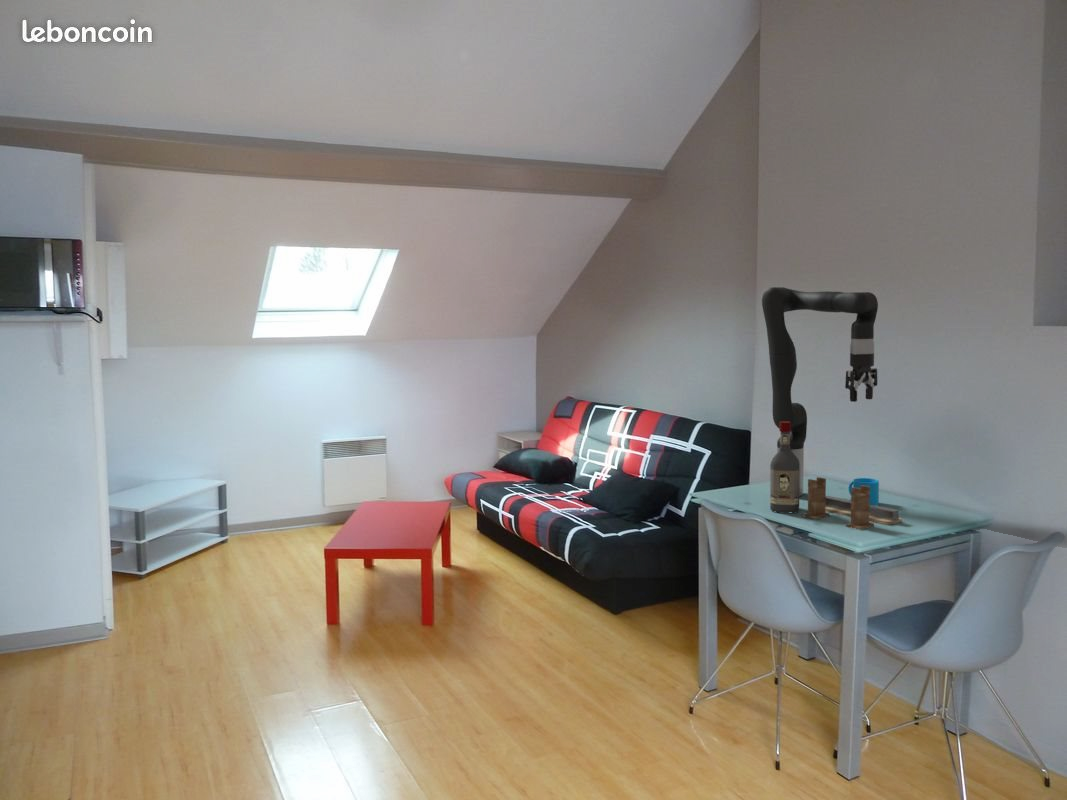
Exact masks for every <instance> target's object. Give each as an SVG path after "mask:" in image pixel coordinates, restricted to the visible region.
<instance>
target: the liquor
mask: <svg viewBox="0 0 1067 800" xmlns="http://www.w3.org/2000/svg"><path fill="white" fill-rule="evenodd" d="M778 429H779V432H780V437H779V438H780V450H779V451H778V453H777V452H776V454H775V455H774V456H773V457H772V459H771V462H770V464H769V465H770V466H769V467H770V469H769V470H770V471H769V472H770V475H769V476H770V479H769V481H770V482H769V485H770V487H769V489H770V490H769V492H770V493H769V496H770V497H769V498H770V499H769V501H770V502H769V505H770V506H769V507H770V511H771V510H772V511H771V512H773V511H776V512H797V513H798V512H799V510H800V496H799V478H800V462H799V459H798V458H797V457H796V456H795V455H794V453H793V452H792V451H791V447H790V431H791V422H789V421H782V422H780V428H778ZM776 512H775V513H776Z"/></svg>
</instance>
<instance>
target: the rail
mask: <svg viewBox="0 0 1067 800" xmlns="http://www.w3.org/2000/svg"><path fill="white" fill-rule="evenodd" d="M825 507H830V508H835V509H839V510H844V511H849V512H851V499H846V498H841V497H837V496H830V495H826V504H825ZM869 516H872V517H876V518H881V519H886V520H890V521H895V520H899V518H900V517H899V516H900V510H899V509H896V508H890V507H886V506H881V505H877V506H876V505H871V504H869Z"/></svg>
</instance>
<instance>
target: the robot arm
mask: <svg viewBox="0 0 1067 800" xmlns="http://www.w3.org/2000/svg"><path fill="white" fill-rule="evenodd" d="M761 307H762V312H763V316H764V322H765V327H766V334H767V344H768V355H769V365H770V374H771V375H770V377H771V386H772V419H773V422H774V426H775V427H777V429H779V428H780V422H782V421H789V422H791V431H790V447H791V451H792V452H793V453H794V455H795V456H796V457H797V458H798V459H799V462H800V478H799V497H801V496H803V495H804V472H805V471H804V467H805V466H804V461H805V460H804V454H805V453H804V450H805V448H804V447H805V446H804V445H805V442H806V438H807V429H808V428H807V427H808V414H807V411H806V409H805V407H804V405H802V404H801V403H799V402H793V401H792V385H793V384H794V383H793V382H794V379H795V376H796V372H797V368H798V367H797V366H798V364H797V361H798V360H797V351H796V347H795V343H794V342H793V339H792V337H791V335H790V333H789V331H788V330H787V327H786V321H785V313H788V312H792V311H802V310H804V311H805V310H808V311H816V312H823V313H824V312H825V313H845V314H846V313H847V314H854V315H855V314H856V319H855V321H853V322H852V323H851V327H850V328H851V329H850V345H849V366H850V367H852V370H846V371H845V385H844V387H845V389H848V390H849V401H850V402H855V403H856V402H857V401H858V389H859V386H861V384H864V386H865V399H866V400H873V398H874V397H873V396H874V394H873V393H874V388H875V387H876V386H878V369H877V368H876V367H875V368H874V366H875V340H874V336H875V334H874V333H875V331H874V330H875V327H874V326H875V322H876V319H877V318H876V317H877V313H878V309H879V302H878V298H877V296H876V294H874V293H872V292H868V291H863V292H859V291H856V292H843V291H826V290H825V291H802V290H801V291H800V290H795V289H791V288H788V287H782V286H781V287H777V286H776V287H775V286H774V287H768V288H767V289H765V290H764V292H763V293H762V298H761ZM872 367H873V368H872ZM779 450H780V437H778V439H777V441H776V454H777V453H778V451H779Z"/></svg>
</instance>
